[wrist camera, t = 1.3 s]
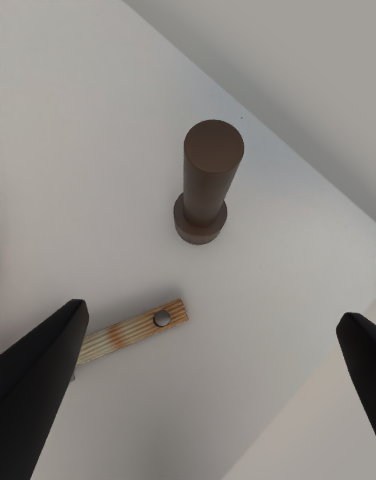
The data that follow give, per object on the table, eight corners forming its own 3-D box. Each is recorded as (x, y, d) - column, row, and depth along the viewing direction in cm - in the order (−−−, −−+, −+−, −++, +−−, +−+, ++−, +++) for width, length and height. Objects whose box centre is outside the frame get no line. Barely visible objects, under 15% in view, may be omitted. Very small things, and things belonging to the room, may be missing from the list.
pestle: (223, 244, 22) (267, 188, 11) (175, 245, 22) (167, 191, 11) (220, 199, 23) (257, 103, 12) (174, 200, 23) (165, 105, 12)
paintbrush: (-101, 392, 17) (177, 287, 19) (-63, 380, 19) (176, 288, 22) (-95, 455, 16) (194, 335, 19) (-56, 433, 18) (192, 331, 21)
